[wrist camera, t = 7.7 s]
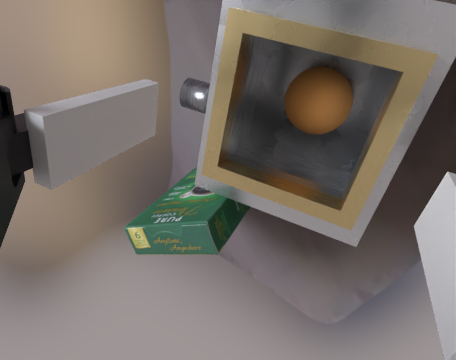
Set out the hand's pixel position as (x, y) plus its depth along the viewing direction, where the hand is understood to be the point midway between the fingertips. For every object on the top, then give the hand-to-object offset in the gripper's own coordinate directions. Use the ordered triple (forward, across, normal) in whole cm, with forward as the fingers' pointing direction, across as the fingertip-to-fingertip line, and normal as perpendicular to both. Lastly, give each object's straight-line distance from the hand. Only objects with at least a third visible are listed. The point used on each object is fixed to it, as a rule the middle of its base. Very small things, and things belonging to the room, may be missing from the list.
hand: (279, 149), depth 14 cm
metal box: (+15, -2, 0) cm, 15 cm away
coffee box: (+15, -6, -10) cm, 20 cm away
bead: (+14, 0, 0) cm, 14 cm away
